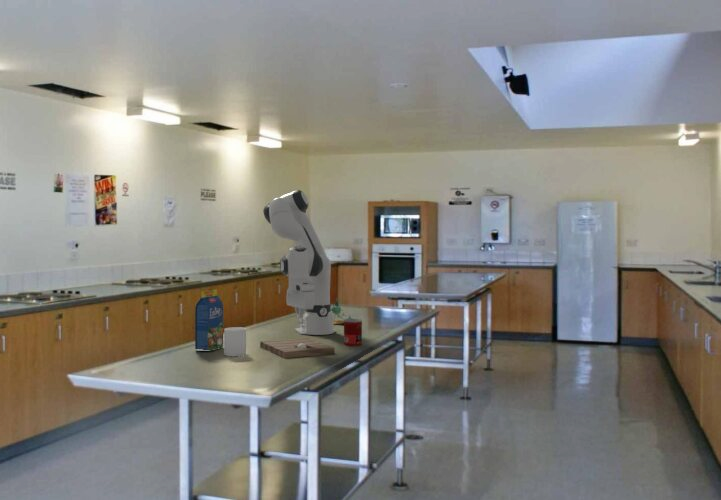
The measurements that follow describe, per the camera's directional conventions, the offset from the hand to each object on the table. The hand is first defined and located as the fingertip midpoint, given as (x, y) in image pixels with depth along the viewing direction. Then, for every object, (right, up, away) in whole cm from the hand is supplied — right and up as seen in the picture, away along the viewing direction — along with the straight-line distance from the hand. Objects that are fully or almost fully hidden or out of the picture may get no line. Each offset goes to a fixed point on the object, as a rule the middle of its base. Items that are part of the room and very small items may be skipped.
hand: (299, 318), depth 293 cm
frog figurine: (+14, -11, +82) cm, 83 cm away
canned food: (+22, -13, +14) cm, 30 cm away
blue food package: (-38, -13, 0) cm, 40 cm away
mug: (-24, -14, -11) cm, 30 cm away
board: (-1, -13, -1) cm, 13 cm away
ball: (+1, -12, -7) cm, 14 cm away
